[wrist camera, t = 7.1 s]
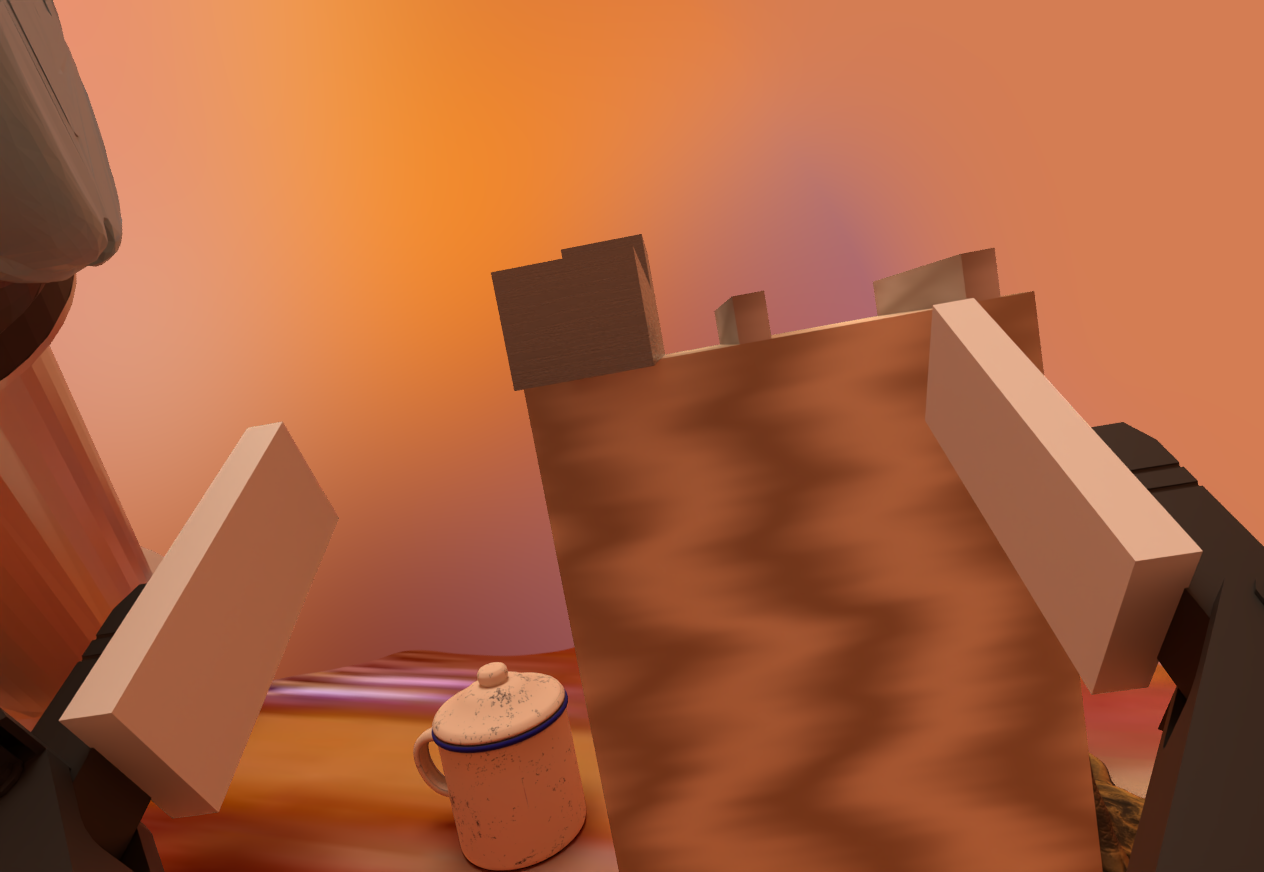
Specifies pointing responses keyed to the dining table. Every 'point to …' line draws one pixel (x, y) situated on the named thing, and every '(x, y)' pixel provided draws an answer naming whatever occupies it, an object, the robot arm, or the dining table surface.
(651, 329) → the dark wood beam
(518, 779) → the teacup with lid
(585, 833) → the dining table surface
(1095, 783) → the figurine
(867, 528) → the stand
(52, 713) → the robot arm
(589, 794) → the dining table surface
